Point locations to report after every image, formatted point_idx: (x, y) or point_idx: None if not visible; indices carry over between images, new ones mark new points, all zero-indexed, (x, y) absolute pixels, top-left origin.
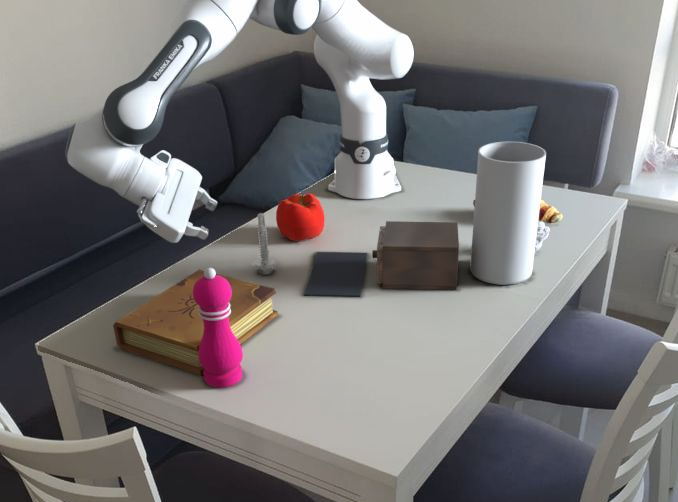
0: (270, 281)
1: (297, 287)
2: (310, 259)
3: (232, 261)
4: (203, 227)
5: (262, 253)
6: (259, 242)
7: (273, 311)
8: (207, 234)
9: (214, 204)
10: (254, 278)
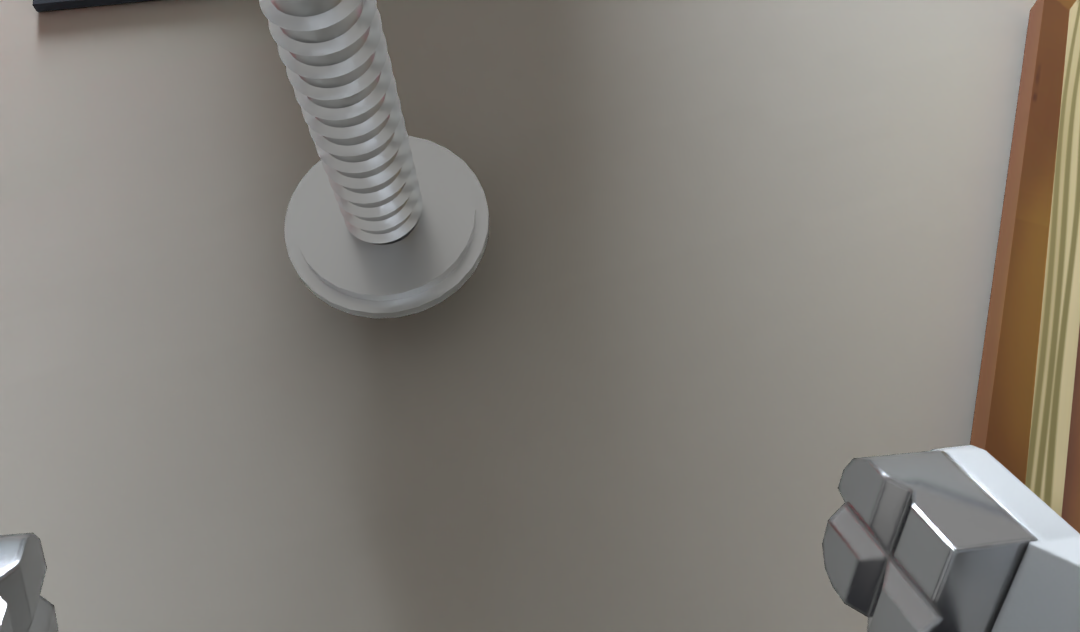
0: (547, 188)
1: (602, 7)
2: (147, 29)
3: (195, 612)
4: (952, 516)
5: (407, 163)
6: (383, 116)
7: (1061, 7)
8: (967, 449)
9: (7, 557)
10: (517, 313)
